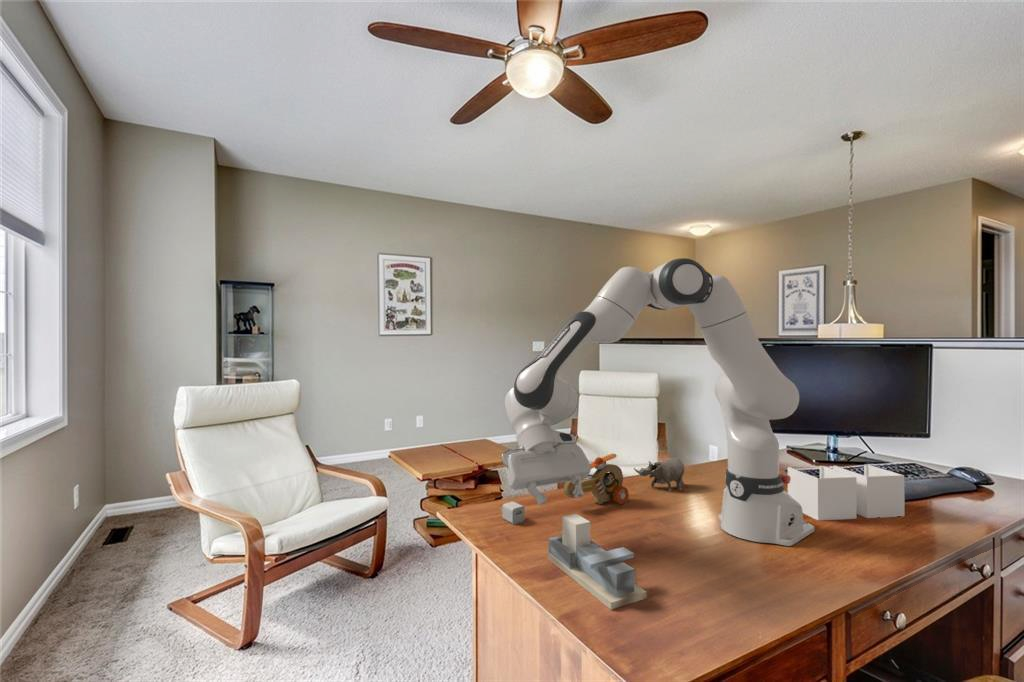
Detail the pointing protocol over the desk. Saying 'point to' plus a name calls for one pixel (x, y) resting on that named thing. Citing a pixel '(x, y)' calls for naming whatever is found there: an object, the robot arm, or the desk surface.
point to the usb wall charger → (513, 512)
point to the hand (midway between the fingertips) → (561, 500)
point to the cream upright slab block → (575, 532)
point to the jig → (599, 571)
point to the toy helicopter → (602, 482)
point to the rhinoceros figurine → (665, 472)
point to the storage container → (848, 493)
